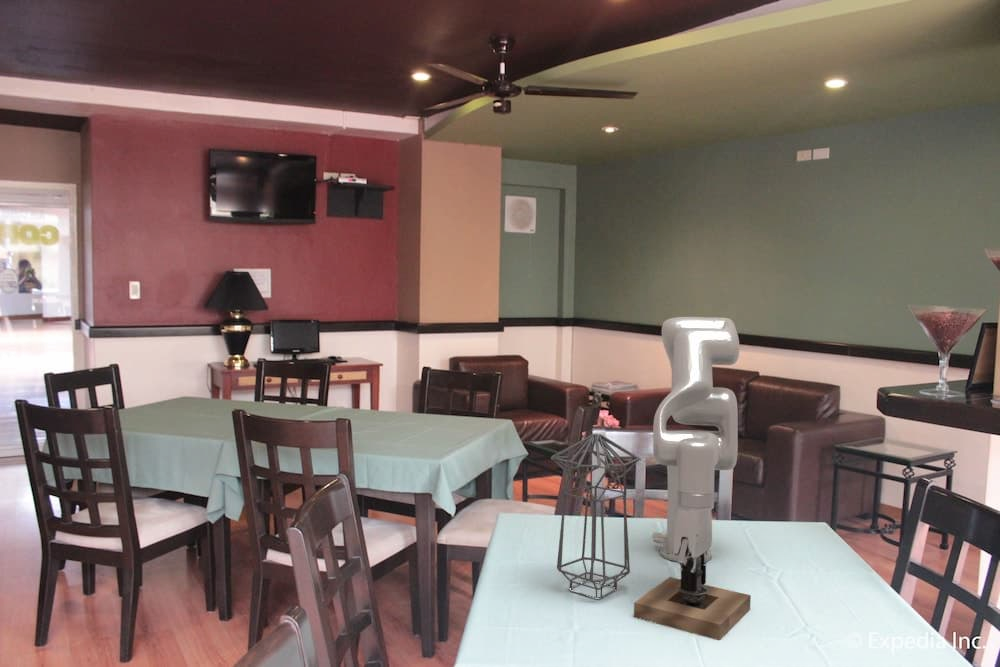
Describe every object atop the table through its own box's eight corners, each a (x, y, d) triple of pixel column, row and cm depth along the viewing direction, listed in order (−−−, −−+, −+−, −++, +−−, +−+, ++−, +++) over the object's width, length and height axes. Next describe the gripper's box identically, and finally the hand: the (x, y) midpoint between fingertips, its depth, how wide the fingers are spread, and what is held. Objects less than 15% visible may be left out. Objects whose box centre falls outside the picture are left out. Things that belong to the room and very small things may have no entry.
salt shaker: (674, 601, 167) (675, 544, 166) (702, 600, 167) (703, 544, 167) (683, 612, 161) (684, 554, 160) (711, 611, 162) (713, 553, 161)
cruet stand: (633, 617, 162) (634, 602, 162) (669, 590, 177) (669, 576, 177) (719, 639, 152) (720, 624, 152) (750, 609, 166) (750, 595, 166)
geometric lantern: (544, 590, 176) (546, 433, 175) (586, 573, 188) (588, 426, 187) (602, 609, 166) (604, 442, 165) (643, 590, 177) (646, 434, 176)
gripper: (693, 488, 172) (691, 571, 173) (660, 505, 158) (659, 595, 159) (727, 493, 168) (725, 578, 169) (697, 511, 154) (695, 603, 155)
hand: (693, 585), depth 164 cm, fingers closed on salt shaker, 4 cm apart
